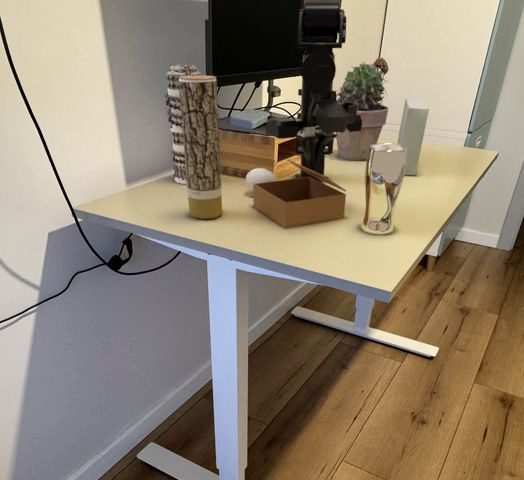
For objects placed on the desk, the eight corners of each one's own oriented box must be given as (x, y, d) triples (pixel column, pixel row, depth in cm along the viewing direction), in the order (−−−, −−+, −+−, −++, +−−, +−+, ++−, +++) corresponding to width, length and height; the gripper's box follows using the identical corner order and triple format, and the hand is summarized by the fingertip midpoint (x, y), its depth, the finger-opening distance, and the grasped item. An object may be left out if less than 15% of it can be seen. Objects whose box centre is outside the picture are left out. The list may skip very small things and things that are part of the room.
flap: (286, 160, 104) (287, 158, 104) (308, 174, 108) (309, 173, 108) (322, 176, 94) (323, 175, 93) (345, 191, 98) (346, 190, 97)
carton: (253, 206, 106) (253, 183, 104) (308, 198, 111) (309, 176, 109) (284, 227, 96) (285, 203, 93) (343, 217, 100) (346, 194, 98)
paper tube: (209, 222, 98) (200, 79, 84) (182, 216, 101) (170, 77, 87) (228, 213, 103) (223, 76, 89) (203, 207, 106) (194, 74, 92)
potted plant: (310, 159, 142) (315, 59, 128) (341, 147, 156) (349, 55, 142) (367, 168, 134) (379, 62, 120) (395, 154, 147) (409, 58, 133)
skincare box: (417, 176, 127) (429, 108, 118) (396, 175, 128) (406, 107, 119) (413, 157, 144) (423, 97, 135) (394, 156, 145) (403, 96, 136)
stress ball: (278, 208, 115) (287, 181, 115) (264, 196, 108) (274, 167, 108) (251, 202, 119) (260, 175, 118) (235, 189, 111) (245, 161, 111)
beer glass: (356, 222, 98) (365, 142, 90) (391, 223, 98) (404, 142, 90) (361, 235, 92) (371, 150, 84) (398, 235, 92) (412, 151, 84)
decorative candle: (169, 176, 126) (157, 64, 112) (204, 173, 129) (197, 63, 115) (177, 186, 119) (166, 67, 105) (214, 182, 122) (208, 66, 108)
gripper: (294, 91, 82) (291, 186, 91) (385, 86, 89) (374, 175, 97) (264, 84, 90) (264, 172, 99) (349, 80, 97) (342, 162, 106)
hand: (312, 170), depth 100 cm, fingers closed
